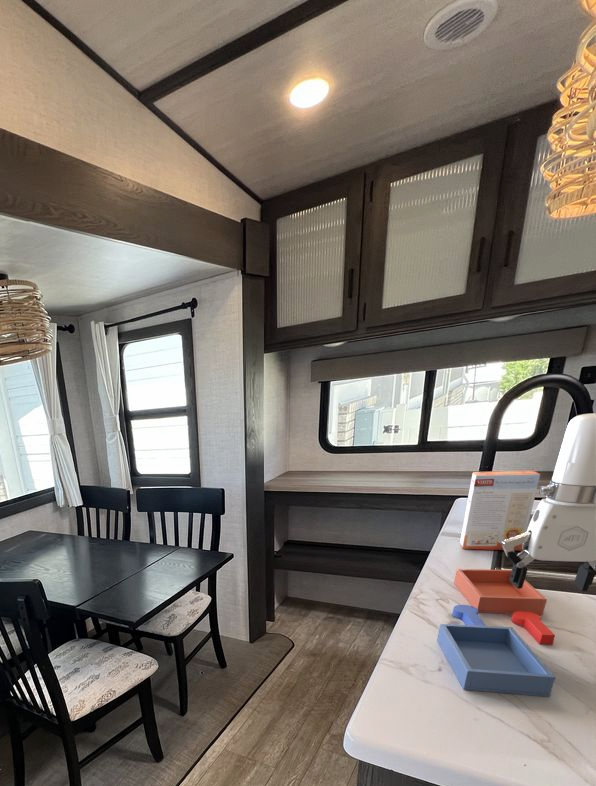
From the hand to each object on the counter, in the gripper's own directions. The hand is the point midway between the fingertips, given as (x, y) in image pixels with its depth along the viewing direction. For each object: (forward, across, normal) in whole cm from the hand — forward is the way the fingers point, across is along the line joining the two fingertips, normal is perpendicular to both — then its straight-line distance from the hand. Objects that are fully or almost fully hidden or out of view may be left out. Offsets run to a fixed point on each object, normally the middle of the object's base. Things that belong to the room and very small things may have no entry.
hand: (547, 587), depth 85 cm
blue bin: (+10, -11, -13) cm, 20 cm away
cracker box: (+10, +9, +53) cm, 55 cm away
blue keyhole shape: (+10, -9, +4) cm, 14 cm away
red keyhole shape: (+10, +1, +2) cm, 10 cm away
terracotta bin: (+10, -1, +17) cm, 20 cm away
